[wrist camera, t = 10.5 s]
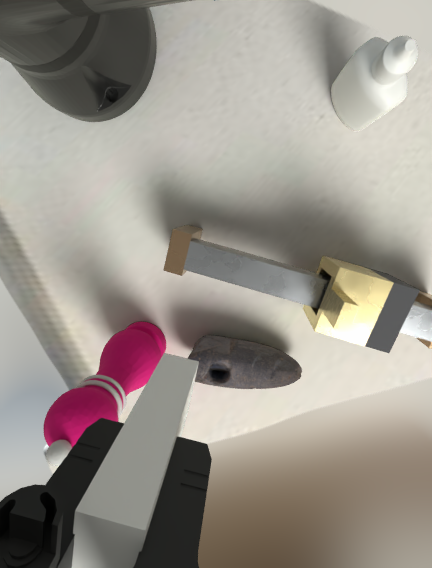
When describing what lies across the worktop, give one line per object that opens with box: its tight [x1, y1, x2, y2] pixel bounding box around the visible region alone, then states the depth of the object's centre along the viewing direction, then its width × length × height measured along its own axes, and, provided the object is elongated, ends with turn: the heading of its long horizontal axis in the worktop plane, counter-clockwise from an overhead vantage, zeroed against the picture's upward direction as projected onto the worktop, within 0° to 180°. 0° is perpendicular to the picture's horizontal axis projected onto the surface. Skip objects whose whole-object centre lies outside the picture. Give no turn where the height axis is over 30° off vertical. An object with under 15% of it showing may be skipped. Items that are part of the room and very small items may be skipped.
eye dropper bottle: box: [331, 36, 418, 132], centre depth 25 cm, size 4×6×12 cm
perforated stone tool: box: [188, 335, 302, 389], centre depth 37 cm, size 15×5×7 cm, turn 82°
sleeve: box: [303, 256, 394, 346], centre depth 29 cm, size 5×7×11 cm
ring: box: [365, 268, 420, 353], centre depth 31 cm, size 2×7×7 cm, turn 165°
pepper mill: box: [44, 322, 166, 466], centre depth 31 cm, size 7×7×20 cm
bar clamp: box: [164, 225, 432, 349], centre depth 33 cm, size 30×4×7 cm, turn 75°
